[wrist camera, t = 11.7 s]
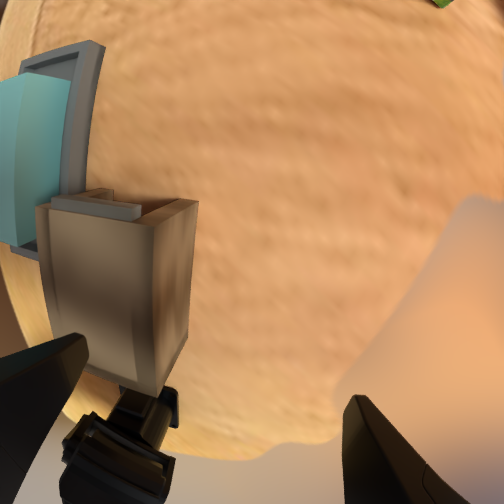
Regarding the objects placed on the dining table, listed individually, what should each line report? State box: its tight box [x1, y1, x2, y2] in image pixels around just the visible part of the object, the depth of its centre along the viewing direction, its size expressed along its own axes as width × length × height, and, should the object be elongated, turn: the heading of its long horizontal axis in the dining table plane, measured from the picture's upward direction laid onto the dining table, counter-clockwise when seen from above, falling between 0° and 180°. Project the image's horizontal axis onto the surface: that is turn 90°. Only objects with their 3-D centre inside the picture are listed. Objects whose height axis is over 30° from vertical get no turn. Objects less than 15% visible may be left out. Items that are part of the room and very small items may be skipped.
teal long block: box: [0, 72, 71, 247], centre depth 15 cm, size 12×4×5 cm, turn 171°
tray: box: [10, 40, 106, 261], centre depth 17 cm, size 18×9×2 cm, turn 171°
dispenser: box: [35, 188, 199, 398], centre depth 17 cm, size 12×8×7 cm
